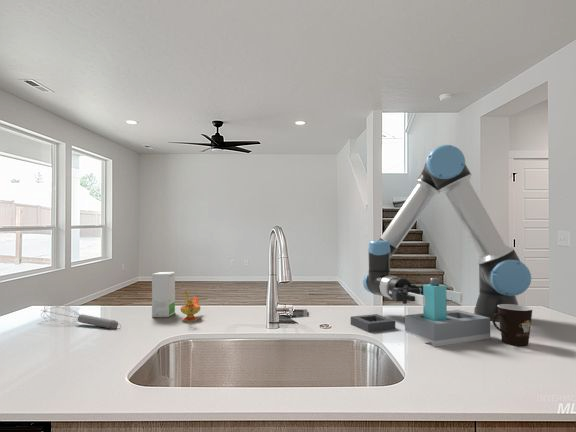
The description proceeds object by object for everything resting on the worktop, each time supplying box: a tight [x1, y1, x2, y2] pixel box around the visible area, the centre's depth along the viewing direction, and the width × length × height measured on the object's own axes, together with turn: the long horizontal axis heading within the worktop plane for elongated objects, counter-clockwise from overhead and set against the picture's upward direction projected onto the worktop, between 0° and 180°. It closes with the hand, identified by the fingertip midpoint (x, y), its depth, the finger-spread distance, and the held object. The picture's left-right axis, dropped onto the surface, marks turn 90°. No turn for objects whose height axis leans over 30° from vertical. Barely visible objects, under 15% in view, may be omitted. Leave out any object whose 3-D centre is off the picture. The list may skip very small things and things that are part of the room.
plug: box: [422, 277, 448, 321], centre depth 115 cm, size 4×4×16 cm
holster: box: [350, 313, 396, 333], centre depth 124 cm, size 10×10×4 cm
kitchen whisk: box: [40, 303, 122, 330], centre depth 131 cm, size 6×34×6 cm, turn 70°
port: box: [404, 309, 491, 348], centre depth 116 cm, size 21×12×6 cm, turn 112°
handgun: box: [279, 308, 308, 324], centre depth 142 cm, size 13×2×18 cm
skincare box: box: [151, 271, 176, 318], centre depth 145 cm, size 8×7×16 cm
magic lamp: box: [180, 290, 201, 322], centre depth 140 cm, size 7×18×11 cm, turn 179°
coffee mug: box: [492, 304, 533, 347], centre depth 111 cm, size 12×9×10 cm
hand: (443, 299), depth 112 cm, fingers open, 13 cm apart
